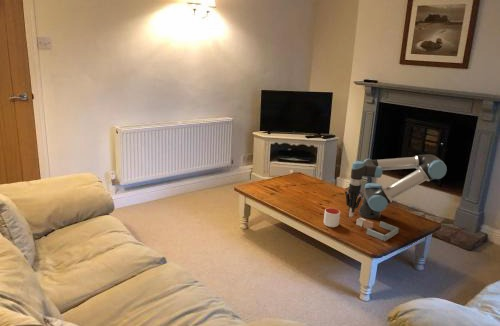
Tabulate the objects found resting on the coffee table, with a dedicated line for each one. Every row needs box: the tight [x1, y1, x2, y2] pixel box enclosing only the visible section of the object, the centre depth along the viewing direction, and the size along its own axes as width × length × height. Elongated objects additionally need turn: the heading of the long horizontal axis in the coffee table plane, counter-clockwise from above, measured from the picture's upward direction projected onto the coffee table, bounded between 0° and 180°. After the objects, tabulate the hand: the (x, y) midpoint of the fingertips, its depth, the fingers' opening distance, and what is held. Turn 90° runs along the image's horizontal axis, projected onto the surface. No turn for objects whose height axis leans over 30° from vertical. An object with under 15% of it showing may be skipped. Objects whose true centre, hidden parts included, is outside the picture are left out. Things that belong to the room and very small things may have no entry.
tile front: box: [362, 219, 374, 230], centre depth 273 cm, size 4×4×4 cm
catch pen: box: [365, 221, 400, 242], centre depth 266 cm, size 13×18×4 cm
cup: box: [323, 207, 341, 228], centre depth 274 cm, size 10×10×10 cm
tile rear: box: [355, 217, 367, 228], centre depth 277 cm, size 4×4×4 cm
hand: (350, 216), depth 282 cm, fingers closed
